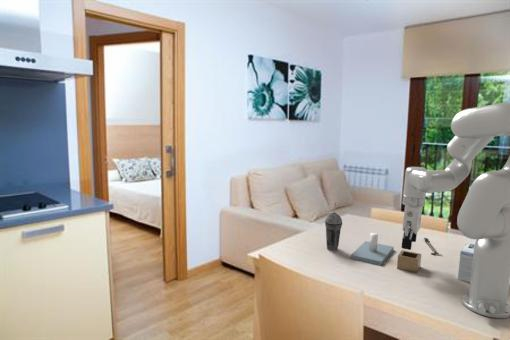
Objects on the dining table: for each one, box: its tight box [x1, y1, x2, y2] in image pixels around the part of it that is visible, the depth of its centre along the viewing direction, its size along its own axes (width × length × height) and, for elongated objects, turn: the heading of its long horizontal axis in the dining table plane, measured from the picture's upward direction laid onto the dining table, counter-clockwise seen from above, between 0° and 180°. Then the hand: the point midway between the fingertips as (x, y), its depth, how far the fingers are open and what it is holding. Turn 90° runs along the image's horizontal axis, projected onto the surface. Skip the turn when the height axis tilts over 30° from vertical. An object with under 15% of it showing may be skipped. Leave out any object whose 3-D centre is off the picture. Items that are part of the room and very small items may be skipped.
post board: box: [350, 232, 394, 266], centre depth 149 cm, size 20×12×8 cm, turn 147°
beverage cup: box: [324, 202, 343, 252], centre depth 153 cm, size 7×7×20 cm
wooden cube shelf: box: [396, 249, 422, 274], centre depth 136 cm, size 7×7×5 cm
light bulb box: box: [457, 242, 475, 283], centre depth 128 cm, size 11×7×11 cm, turn 141°
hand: (408, 244), depth 136 cm, fingers open, 9 cm apart
